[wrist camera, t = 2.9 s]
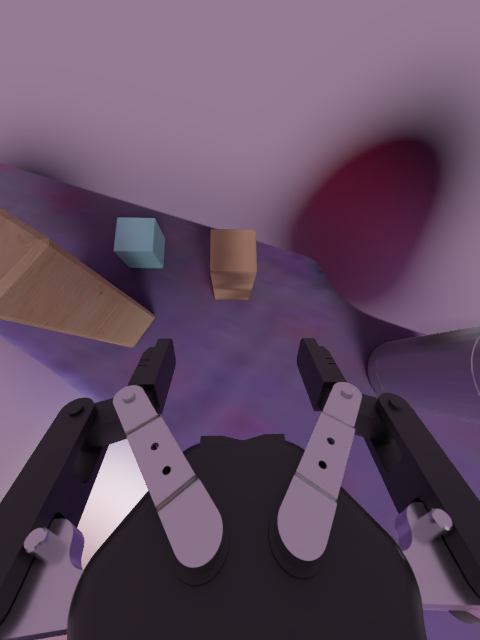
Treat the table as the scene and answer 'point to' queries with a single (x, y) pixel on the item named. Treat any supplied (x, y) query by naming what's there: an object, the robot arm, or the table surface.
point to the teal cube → (139, 242)
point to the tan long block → (232, 263)
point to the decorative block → (61, 290)
